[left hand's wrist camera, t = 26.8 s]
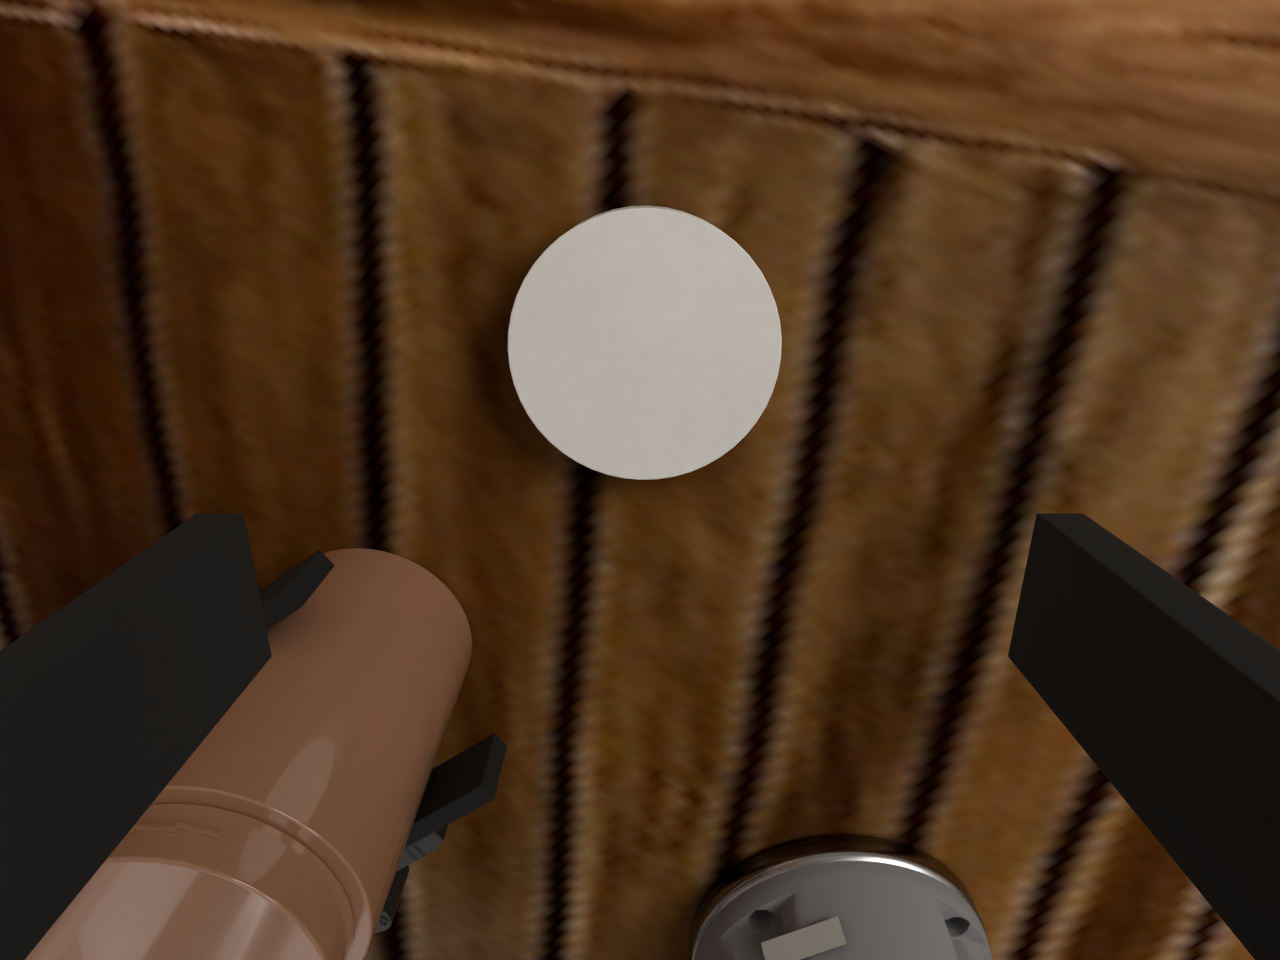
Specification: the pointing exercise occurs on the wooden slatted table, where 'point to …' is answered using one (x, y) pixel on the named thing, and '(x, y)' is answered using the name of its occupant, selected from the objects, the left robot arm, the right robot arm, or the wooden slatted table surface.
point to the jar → (291, 787)
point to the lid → (644, 343)
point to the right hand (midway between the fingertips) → (407, 676)
